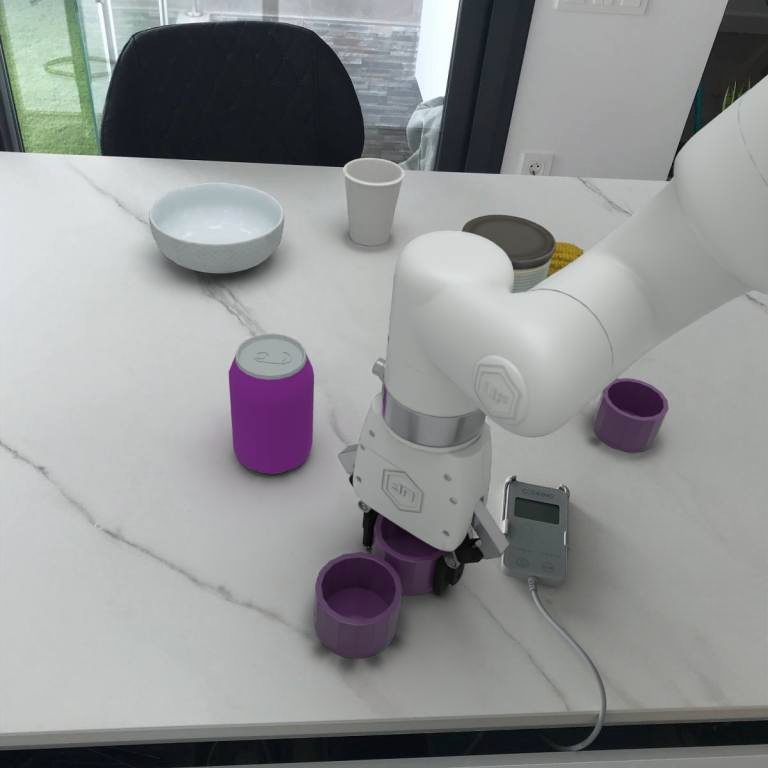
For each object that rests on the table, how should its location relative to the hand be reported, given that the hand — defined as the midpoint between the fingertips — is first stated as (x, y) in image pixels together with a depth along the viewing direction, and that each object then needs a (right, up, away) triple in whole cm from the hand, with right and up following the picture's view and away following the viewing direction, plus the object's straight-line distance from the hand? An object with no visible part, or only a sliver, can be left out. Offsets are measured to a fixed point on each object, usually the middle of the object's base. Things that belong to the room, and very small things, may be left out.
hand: (410, 557), depth 66 cm
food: (+14, +29, +38) cm, 49 cm away
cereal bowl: (-24, +31, +37) cm, 54 cm away
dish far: (+23, +10, +16) cm, 30 cm away
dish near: (-5, -4, -4) cm, 7 cm away
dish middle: (0, -1, 0) cm, 1 cm away
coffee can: (+10, +20, +27) cm, 35 cm away
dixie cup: (-4, +36, +45) cm, 57 cm away
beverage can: (-13, +8, +10) cm, 18 cm away
